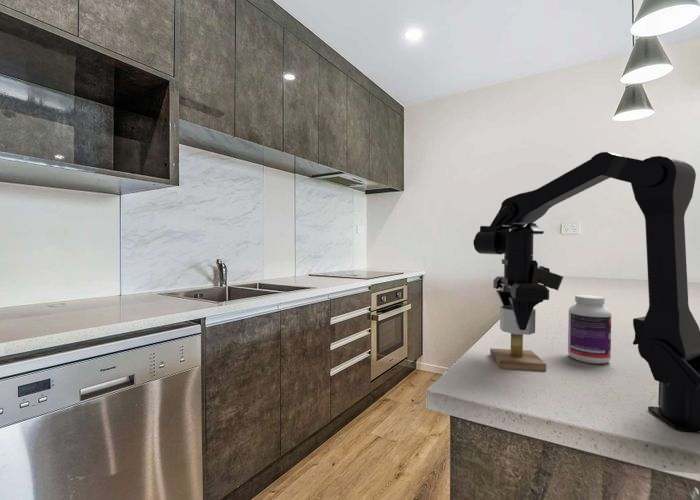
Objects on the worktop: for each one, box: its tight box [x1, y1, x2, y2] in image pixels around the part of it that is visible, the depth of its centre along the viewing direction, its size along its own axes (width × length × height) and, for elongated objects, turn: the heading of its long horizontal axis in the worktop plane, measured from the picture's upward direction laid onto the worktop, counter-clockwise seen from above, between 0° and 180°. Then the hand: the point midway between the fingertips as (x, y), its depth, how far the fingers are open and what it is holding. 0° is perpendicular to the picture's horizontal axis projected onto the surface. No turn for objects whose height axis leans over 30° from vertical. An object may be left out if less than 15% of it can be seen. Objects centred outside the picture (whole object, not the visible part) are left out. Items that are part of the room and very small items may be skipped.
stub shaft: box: [489, 333, 547, 372], centre depth 78 cm, size 9×9×6 cm
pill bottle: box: [567, 294, 612, 365], centre depth 80 cm, size 8×8×14 cm
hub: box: [499, 305, 536, 336], centre depth 77 cm, size 6×6×5 cm
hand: (517, 326), depth 77 cm, fingers closed on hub, 6 cm apart
